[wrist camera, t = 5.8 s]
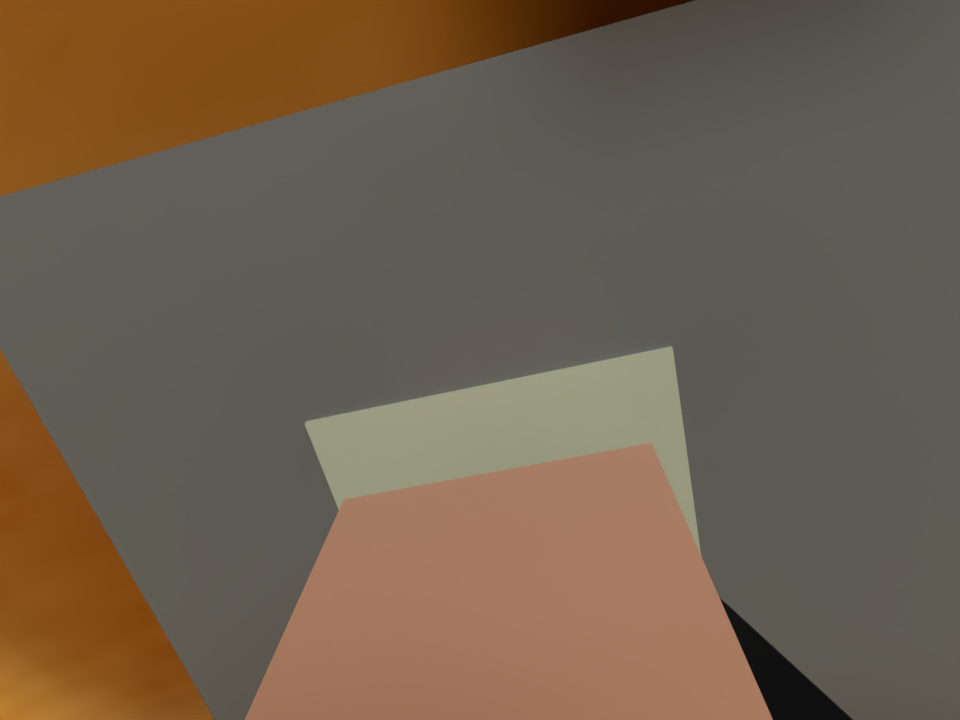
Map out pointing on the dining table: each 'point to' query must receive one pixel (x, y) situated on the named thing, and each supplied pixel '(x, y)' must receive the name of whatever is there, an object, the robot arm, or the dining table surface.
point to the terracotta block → (513, 605)
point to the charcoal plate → (539, 325)
